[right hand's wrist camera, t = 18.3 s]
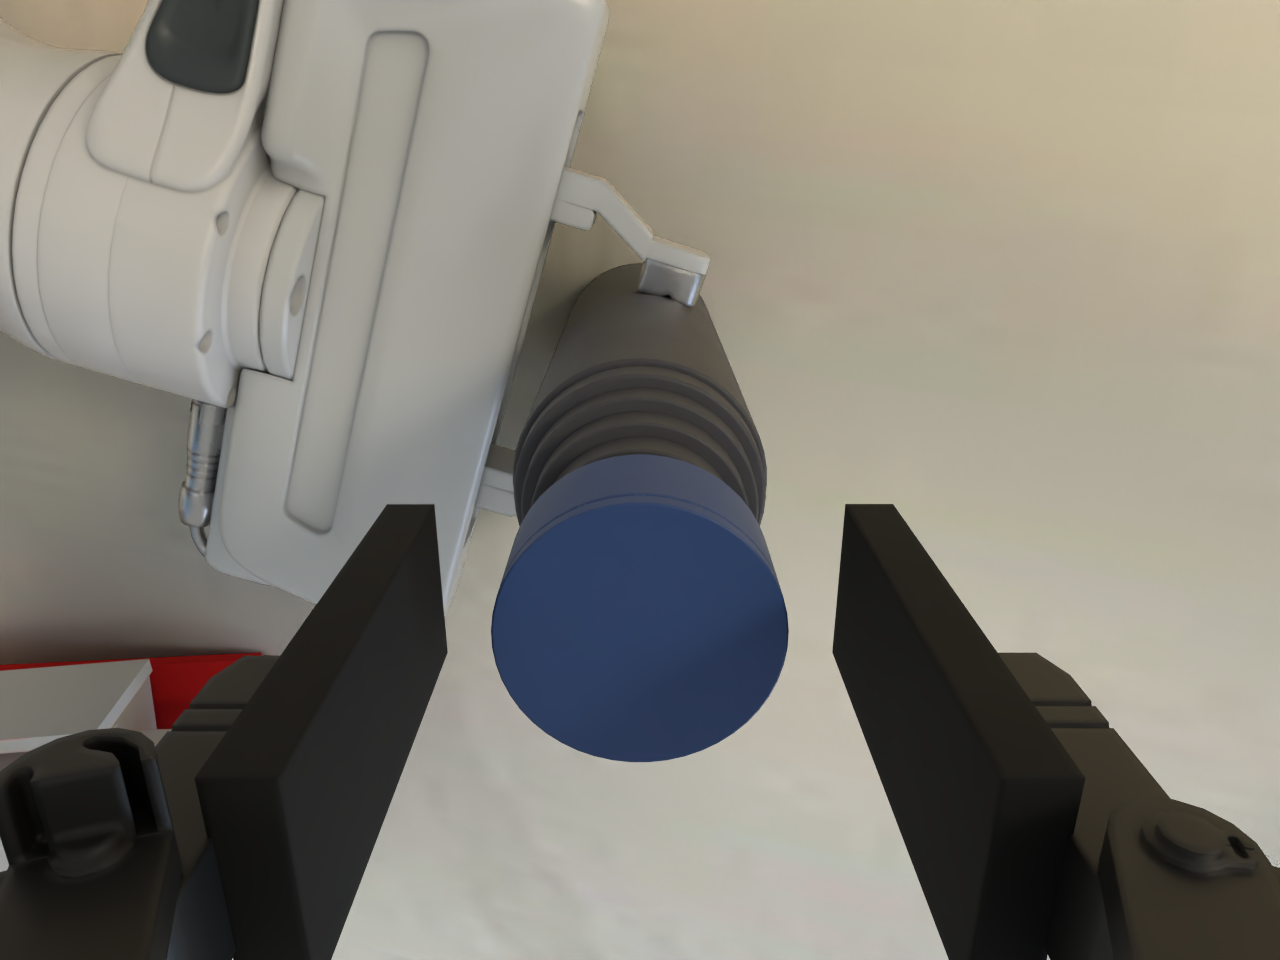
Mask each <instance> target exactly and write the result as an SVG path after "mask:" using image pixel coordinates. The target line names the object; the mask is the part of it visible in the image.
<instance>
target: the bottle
mask: <svg viewBox="0 0 1280 960" xmlns="http://www.w3.org/2000/svg"><path fill="white" fill-rule="evenodd" d="M642 265H643V264H641V263H639V264H628V265H623V266H619V267H616V268H613V269H611V270H609V271H607V272H605V273H603V274H601V275H600V276H598V277H597V278H595V279H594V280H593V281H592V282H591V283H590V284H589V285H588V286H587V287H586V288H585V289H584V290H583V291H582V293H581V294H580V296H579V297H578V299H577V300H576V302H575V304H574V307H573V309H572V311H571V313H570V316H569V318H568V321H567V323H566V326H565V328H564V331H563V333H562V335H561V338H560V340H559V343H558V345H557V348H556V350H555V353H554V355H553V357H552V360H551V362H550V365H549V367H548V370H547V372H546V375H545V377H544V379H543V382H542V384H541V387H540V389H539V392H538V394H537V397H536V399H535V401H534V404H533V406H532V409H531V411H530V414H529V416H528V419H527V421H526V423H525V426H524V428H523V431H522V433H521V436H520V439H519V442H518V445H517V448H516V452H515V458H514V464H513V488H514V501H515V510H516V514H517V518H518V522H519V525H521V523H522V521H523V520H524V518H525V516H526V514H527V513H528V511H529V510H530V508H531V507H532V506H533V504H534V503H535V502H536V501H537V499H538V498H539V497H540V496H541V495H542V494H543V493H544V492H545V491H546V490H547V489H548V488H549V487H550V486H551V485H553V484H554V483H556V482H557V481H558V480H560V479H561V478H562V477H564V476H565V475H567V474H569V473H571V472H573V471H574V470H576V469H578V468H580V467H582V466H585V465H587V464H590V463H593V462H595V461H598V460H602V459H606V458H610V457H615V456H623V455H636V454H639V455H641V454H644V455H657V456H664V457H670V458H673V459H677V460H681V461H685V462H687V463H690V464H692V465H695V466H697V467H700V468H702V469H704V470H705V471H707V472H709V473H711V474H713V475H714V476H716V477H717V478H719V479H720V480H721V481H723V482H724V483H725V484H727V485H728V486H729V487H730V488H731V489H732V490H734V491H735V492H736V493H737V494H738V495H739V496H740V497H741V498H742V500H743V501H744V502H745V504H746V505H747V506H748V507H749V509H750V510H751V512H752V513H753V515H754V517H755V518H756V520H757V522H758V524H759V526H760V524H761V520H762V516H763V513H764V506H765V498H766V485H767V467H766V461H765V454H764V450H763V447H762V443H761V440H760V437H759V434H758V432H757V429H756V427H755V425H754V422H753V420H752V417H751V415H750V412H749V410H748V408H747V405H746V403H745V400H744V398H743V395H742V393H741V390H740V388H739V386H738V383H737V381H736V378H735V376H734V373H733V371H732V369H731V366H730V364H729V361H728V359H727V356H726V354H725V351H724V349H723V347H722V344H721V342H720V339H719V337H718V334H717V332H716V330H715V327H714V325H713V322H712V320H711V317H710V315H709V312H708V310H707V308H706V306H705V303H704V301H703V300H702V298H701V297H700V295H699V296H698V299H697V301H696V304H695V307H694V306H687V305H683V304H680V303H678V302H676V301H673V300H672V298H671V297H670V296H669V294H668V295H665V296H661V297H660V296H655V295H651V294H648V293H645V292H642V291H638V279H639V276H640V272H641V269H642Z"/></svg>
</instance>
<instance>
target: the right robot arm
mask: <svg viewBox="0 0 1280 960" xmlns="http://www.w3.org/2000/svg"><path fill="white" fill-rule="evenodd" d="M446 655H447V641H446V630H445V618H444V607H443V596H442V584H441V573H440V562H439V550H438V539H437V527H436V516H435V505H434V504H387V505H386V506H385V508H384V509H383V511H382V512H381V514H380V515H379V516H378V518H377V519H376V521H375V522H374V523H373V525H372V526H371V528H370V529H369V531H368V532H367V533H366V535H365V536H364V538H363V539H362V541H361V542H360V543H359V545H358V546H357V548H356V549H355V550H354V552H353V553H352V555H351V556H350V558H349V559H348V560H347V562H346V563H345V565H344V566H343V568H342V569H341V570H340V572H339V573H338V575H337V576H336V577H335V579H334V580H333V582H332V583H331V585H330V586H329V587H328V589H327V590H326V592H325V593H324V595H323V596H322V597H321V599H320V600H319V602H318V603H317V604H316V606H315V607H314V609H313V610H312V612H311V613H310V614H309V616H308V617H307V619H306V620H305V622H304V623H303V624H302V626H301V627H300V629H299V630H298V632H297V633H296V634H295V636H294V637H293V639H292V640H291V641H290V643H289V644H288V646H287V647H286V649H285V650H284V651H283V653H282V654H281V656H243V657H242V658H240V659H238V660H237V661H235V662H234V663H232V664H231V665H229V666H228V667H226V668H225V669H223V670H222V671H220V672H219V673H217V674H216V675H214V676H213V677H211V678H210V679H209V680H208V682H207V683H206V684H205V685H204V687H203V688H202V689H201V690H200V691H199V693H198V694H197V695H196V696H195V698H194V699H193V700H192V701H191V703H190V704H189V709H185V710H184V711H183V713H182V714H181V715H180V716H179V718H178V719H177V720H176V721H175V723H174V724H173V725H172V730H171V731H167V732H166V734H165V735H164V736H163V737H162V739H161V740H160V741H159V742H158V744H157V745H156V746H155V745H154V742H153V741H152V740H150V739H149V738H148V737H146V736H145V735H144V734H143V733H141V732H138V731H133V730H128V729H122V728H108V729H95V730H87V731H83V732H80V733H76V734H72V735H69V736H65V737H61V738H57V739H55V740H53V741H51V742H49V743H46V744H44V745H42V746H40V747H38V748H35V749H33V750H31V751H29V752H27V753H25V754H24V755H22V756H21V757H19V758H18V759H17V760H15V761H14V762H12V763H11V764H10V765H8V766H7V767H5V768H4V769H2V770H1V771H0V838H1V841H2V845H3V848H4V851H5V854H6V857H7V860H8V863H9V867H8V869H7V870H6V871H2V872H0V960H232V958H233V959H234V960H331V958H332V956H333V953H334V950H335V948H336V945H337V943H338V940H339V937H340V935H341V932H342V929H343V927H344V924H345V921H346V919H347V916H348V913H349V911H350V908H351V906H352V903H353V900H354V898H355V895H356V892H357V890H358V887H359V884H360V882H361V879H362V877H363V874H364V871H365V869H366V866H367V863H368V861H369V858H370V855H371V853H372V850H373V848H374V845H375V842H376V840H377V837H378V834H379V832H380V829H381V826H382V824H383V821H384V819H385V816H386V813H387V811H388V808H389V805H390V803H391V800H392V797H393V795H394V792H395V790H396V787H397V784H398V782H399V779H400V776H401V774H402V771H403V768H404V766H405V763H406V761H407V758H408V755H409V753H410V750H411V747H412V745H413V742H414V739H415V737H416V734H417V732H418V729H419V726H420V724H421V721H422V718H423V716H424V713H425V710H426V708H427V705H428V702H429V700H430V697H431V695H432V692H433V689H434V687H435V684H436V681H437V679H438V676H439V673H440V671H441V668H442V666H443V663H444V660H445V658H446ZM833 655H834V658H835V660H836V663H837V666H838V668H839V671H840V673H841V676H842V679H843V681H844V684H845V687H846V689H847V692H848V695H849V697H850V700H851V702H852V705H853V708H854V710H855V713H856V716H857V718H858V721H859V724H860V726H861V729H862V732H863V734H864V737H865V739H866V742H867V745H868V747H869V750H870V753H871V755H872V758H873V761H874V763H875V766H876V768H877V771H878V774H879V776H880V779H881V782H882V784H883V787H884V790H885V792H886V795H887V797H888V800H889V803H890V805H891V808H892V811H893V813H894V816H895V819H896V821H897V824H898V826H899V829H900V832H901V834H902V837H903V840H904V842H905V845H906V848H907V850H908V853H909V855H910V858H911V861H912V863H913V866H914V869H915V871H916V874H917V877H918V879H919V882H920V885H921V887H922V890H923V892H924V895H925V898H926V900H927V903H928V906H929V908H930V911H931V914H932V916H933V919H934V921H935V924H936V927H937V929H938V932H939V935H940V937H941V940H942V943H943V945H944V948H945V950H946V953H947V956H948V958H949V960H1046V959H1047V955H1048V956H1049V958H1050V960H1280V868H1277V867H1274V866H1272V865H1271V863H1270V862H1269V860H1268V859H1267V857H1266V856H1265V855H1264V853H1263V852H1262V850H1261V849H1260V847H1259V846H1258V844H1257V843H1256V842H1255V841H1253V840H1252V839H1251V838H1250V837H1248V836H1247V835H1246V834H1245V833H1243V832H1242V831H1241V830H1240V829H1238V828H1237V827H1236V826H1235V825H1234V824H1232V823H1230V822H1228V821H1226V820H1224V819H1222V818H1220V817H1219V816H1217V815H1215V814H1213V813H1211V812H1209V811H1207V810H1205V809H1203V808H1199V807H1196V806H1193V805H1190V804H1186V803H1183V802H1180V801H1176V800H1173V799H1170V798H1169V796H1168V795H1167V794H1166V793H1165V791H1164V790H1163V789H1162V788H1161V786H1160V785H1159V784H1158V783H1157V782H1156V780H1155V779H1154V778H1153V777H1152V775H1151V774H1150V773H1149V772H1148V770H1147V769H1146V768H1145V767H1144V766H1143V764H1142V763H1141V762H1140V761H1139V759H1138V758H1137V757H1136V756H1135V754H1134V753H1133V752H1132V751H1131V749H1130V748H1129V747H1128V746H1127V745H1126V743H1125V742H1124V741H1123V740H1122V738H1121V737H1120V736H1119V735H1118V733H1117V732H1116V731H1115V730H1114V729H1113V728H1109V722H1108V721H1107V720H1106V719H1105V717H1104V716H1103V715H1102V714H1101V712H1100V711H1099V710H1098V709H1097V708H1096V706H1092V705H1091V700H1090V699H1089V698H1088V696H1087V695H1086V694H1085V693H1084V692H1083V690H1082V689H1081V688H1080V687H1079V685H1078V684H1077V683H1076V682H1075V680H1074V679H1073V678H1072V677H1071V676H1070V675H1069V674H1068V673H1066V672H1065V671H1063V670H1062V669H1060V668H1059V667H1057V666H1055V665H1054V664H1052V663H1051V662H1049V661H1048V660H1046V659H1045V658H1043V657H1042V656H1040V655H1039V654H1037V653H997V651H996V650H995V649H994V647H993V646H992V644H991V643H990V641H989V640H988V639H987V637H986V636H985V634H984V633H983V632H982V630H981V629H980V627H979V626H978V624H977V623H976V622H975V620H974V619H973V617H972V616H971V614H970V613H969V612H968V610H967V609H966V607H965V606H964V604H963V603H962V602H961V600H960V599H959V597H958V596H957V595H956V593H955V592H954V590H953V589H952V587H951V586H950V585H949V583H948V582H947V580H946V579H945V577H944V576H943V575H942V573H941V572H940V570H939V569H938V568H937V566H936V565H935V563H934V562H933V560H932V559H931V558H930V556H929V555H928V553H927V552H926V550H925V549H924V548H923V546H922V545H921V543H920V542H919V541H918V539H917V538H916V536H915V535H914V533H913V532H912V531H911V529H910V528H909V526H908V525H907V523H906V522H905V521H904V519H903V518H902V516H901V515H900V514H899V512H898V511H897V509H896V508H895V506H894V505H893V504H846V505H845V516H844V527H843V539H842V550H841V561H840V573H839V584H838V596H837V607H836V618H835V630H834V641H833Z"/></svg>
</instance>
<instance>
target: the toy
mask: <svg viewBox="0 0 1280 960" xmlns="http://www.w3.org/2000/svg"><path fill="white" fill-rule="evenodd" d="M243 656H262V655H261V653H241V654H220V655H199V656H178V657H157V658H136V659H115V660H94V661H72V662H51V663H30V664H9V665H0V771H1V770H2V769H4V768H5V767H7V766H8V765H10V764H11V763H12V762H14V761H15V760H17V759H18V758H19V757H21V756H22V755H24V754H25V753H27V752H29V751H31V750H33V749H35V748H38V747H40V746H42V745H44V744H46V743H49V742H51V741H53V740H55V739H57V738H61V737H65V736H69V735H72V734H76V733H80V732H83V731H87V730H95V729H108V728H122V729H128V730H133V731H138V732H141V733H143V734H144V735H145V736H146V737H148V738H149V739H150V740H152V741H153V742H154V745H155V746H156V745H157V744H158V742H159V741H160V740H161V739H162V737H163V736H164V735H165V734H166V732H167V731H171V730H172V725H173V724H174V723H175V721H176V720H177V719H178V718H179V716H180V715H181V714H182V713H183V711H184V710H185V709H189V704H190V703H191V701H192V700H193V699H194V698H195V696H196V695H197V694H198V693H199V691H200V690H201V689H202V688H203V687H204V685H205V684H206V683H207V682H208V680H209V679H210V678H211V677H213V676H214V675H216V674H217V673H219V672H220V671H222V670H223V669H225V668H226V667H228V666H229V665H231V664H232V663H234V662H235V661H237V660H238V659H240V658H242V657H243ZM8 867H9V863H8V860H7V857H6V854H5V851H4V848H3V845H2V841H1V838H0V872H2V871H6V870H7V869H8Z"/></svg>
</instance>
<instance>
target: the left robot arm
mask: <svg viewBox="0 0 1280 960" xmlns="http://www.w3.org/2000/svg"><path fill="white" fill-rule="evenodd" d="M608 21H609V9H608V5H607V2H606V0H149V1H148V3H147V6H146V8H145V10H144V12H143V14H142V16H141V18H140V20H139V22H138V24H137V27H136V29H135V31H134V33H133V35H132V37H131V39H130V41H129V43H128V45H127V47H126V49H125V50H124V52H123V53H118V52H111V51H98V50H77V49H66V48H58V47H54V46H50V45H46V44H44V43H41V42H39V41H37V40H34V39H32V38H30V37H28V36H26V35H24V34H23V33H21V32H19V31H17V30H16V29H15V28H13V27H12V26H10V25H9V24H7V23H6V22H4V21H3V20H1V19H0V331H1V332H4V333H5V334H7V335H9V336H11V337H12V338H14V339H15V340H17V341H18V342H20V343H21V344H23V345H25V346H27V347H28V348H30V349H32V350H34V351H36V352H38V353H40V354H42V355H44V356H47V357H49V358H52V359H54V360H58V361H61V362H65V363H68V364H72V365H75V366H79V367H82V368H86V369H89V370H93V371H96V372H100V373H103V374H107V375H110V376H114V377H117V378H121V379H124V380H128V381H131V382H135V383H138V384H142V385H145V386H149V387H152V388H156V389H159V390H163V391H166V392H170V393H173V394H177V395H180V396H184V397H188V398H191V399H192V403H191V413H190V421H189V428H188V438H187V468H186V470H187V471H186V476H185V481H184V482H183V483H182V486H181V489H180V495H179V516H180V521H181V522H182V523H183V524H185V525H187V526H189V528H190V532H191V536H192V539H193V541H194V543H195V545H196V547H197V549H198V550H199V551H200V553H201V554H202V555H203V556H204V557H205V559H206V562H207V563H208V565H209V566H211V567H212V568H214V569H216V570H217V571H219V572H222V573H224V574H226V575H230V576H234V577H238V578H241V579H245V580H249V581H253V582H256V583H260V584H264V585H273V586H275V587H277V588H279V589H281V590H283V591H286V592H288V593H290V594H292V595H295V596H297V597H299V598H301V599H304V600H306V601H309V602H311V603H313V604H317V603H318V602H319V600H320V599H321V597H322V596H323V595H324V593H325V592H326V590H327V589H328V587H329V586H330V585H331V583H332V582H333V580H334V579H335V577H336V576H337V575H338V573H339V572H340V570H341V569H342V568H343V566H344V565H345V563H346V562H347V560H348V559H349V558H350V556H351V555H352V553H353V552H354V550H355V549H356V548H357V546H358V545H359V543H360V542H361V541H362V539H363V538H364V536H365V535H366V533H367V532H368V531H369V529H370V528H371V526H372V525H373V523H374V522H375V521H376V519H377V518H378V516H379V515H380V514H381V512H382V511H383V509H384V508H385V506H386V505H387V504H434V505H435V516H436V527H437V539H438V550H439V562H440V573H441V584H442V596H443V607H444V617H445V615H446V613H447V611H448V609H449V607H450V605H451V602H452V600H453V598H454V595H455V592H456V589H457V587H458V584H459V581H460V578H461V574H462V571H463V567H464V563H465V559H466V556H467V552H468V548H469V544H470V541H471V537H472V533H473V529H474V526H475V522H476V518H477V514H478V511H479V508H482V509H485V510H489V511H493V512H496V513H500V514H503V515H507V516H510V517H511V516H516V515H517V514H516V510H515V501H514V488H513V464H514V458H515V452H516V451H514V450H511V449H507V448H504V447H501V446H497V445H496V443H497V439H498V435H499V432H500V428H501V424H502V420H503V417H504V413H505V409H506V405H507V402H508V398H509V394H510V390H511V387H512V383H513V379H514V375H515V372H516V368H517V364H518V360H519V356H520V353H521V349H522V345H523V341H524V338H525V334H526V330H527V326H528V323H529V319H530V315H531V311H532V308H533V304H534V300H535V296H536V293H537V289H538V285H539V281H540V278H541V274H542V270H543V266H544V263H545V259H546V255H547V251H548V248H549V244H550V240H551V236H552V233H553V229H554V225H555V222H559V223H562V224H565V225H568V226H572V227H575V228H578V229H581V230H585V231H587V230H589V229H590V228H591V227H592V226H593V224H594V222H595V219H596V216H597V212H598V213H599V214H600V215H601V216H602V217H603V218H604V219H605V221H606V222H607V223H608V224H609V225H610V226H611V227H612V228H613V229H614V230H615V231H616V232H617V233H618V235H619V236H620V237H621V238H622V239H623V240H624V241H625V242H626V243H627V244H628V245H629V246H630V247H631V249H632V250H633V251H634V252H635V253H636V254H637V255H638V256H639V257H640V258H641V259H642V260H643V265H642V269H641V272H640V276H639V279H638V291H642V292H645V293H648V294H651V295H655V296H660V297H661V296H665V295H668V294H669V296H670V297H671V298H672V300H673V301H676V302H678V303H680V304H683V305H687V306H694V307H695V304H696V301H697V299H698V296H699V293H700V290H701V287H702V284H703V281H704V279H705V276H706V272H707V269H708V266H709V263H710V260H711V257H710V256H709V254H707V253H705V252H702V251H700V250H698V249H695V248H692V247H689V246H685V245H682V244H679V243H676V242H673V241H670V240H667V239H664V238H661V237H657V236H654V235H653V232H652V229H651V228H650V227H649V226H648V225H647V224H646V223H645V222H644V220H643V219H642V218H641V217H640V216H639V215H638V214H637V213H636V212H635V210H634V209H633V208H632V207H631V206H630V205H629V204H628V203H627V201H626V200H625V199H624V198H623V197H622V196H621V195H620V194H619V193H618V191H617V190H616V189H615V188H614V187H613V186H612V185H611V184H610V182H609V181H608V180H606V179H603V178H600V177H597V176H594V175H591V174H587V173H584V172H581V171H578V170H575V169H572V168H570V165H571V161H572V157H573V154H574V150H575V146H576V142H577V139H578V135H579V131H580V127H581V124H582V120H583V116H584V112H585V109H586V105H587V101H588V97H589V94H590V90H591V86H592V82H593V78H594V75H595V71H596V67H597V63H598V60H599V56H600V52H601V48H602V45H603V41H604V37H605V33H606V29H607V26H608ZM208 525H210V526H209V532H208V539H207V537H206V535H205V532H204V527H205V526H208Z"/></svg>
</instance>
